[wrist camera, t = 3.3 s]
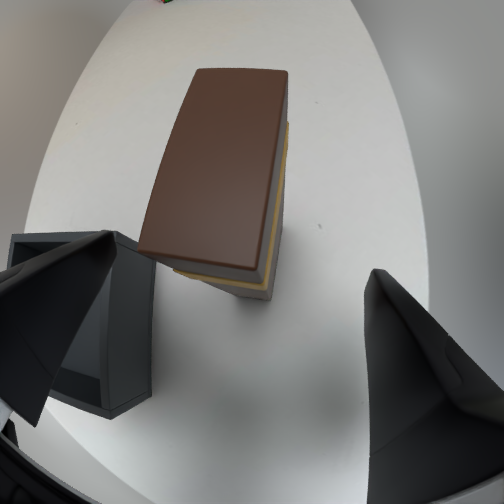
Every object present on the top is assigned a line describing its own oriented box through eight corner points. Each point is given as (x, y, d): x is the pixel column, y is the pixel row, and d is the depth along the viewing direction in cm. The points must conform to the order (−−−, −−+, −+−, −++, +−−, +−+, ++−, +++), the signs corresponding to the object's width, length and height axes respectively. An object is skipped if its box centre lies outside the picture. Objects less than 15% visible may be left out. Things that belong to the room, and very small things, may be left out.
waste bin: (151, 396, 17) (111, 420, 11) (50, 367, 18) (5, 373, 12) (157, 252, 19) (116, 230, 13) (56, 250, 20) (11, 233, 14)
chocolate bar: (271, 301, 18) (260, 274, 5) (232, 295, 18) (131, 254, 5) (283, 224, 18) (290, 68, 6) (245, 219, 19) (195, 66, 6)
